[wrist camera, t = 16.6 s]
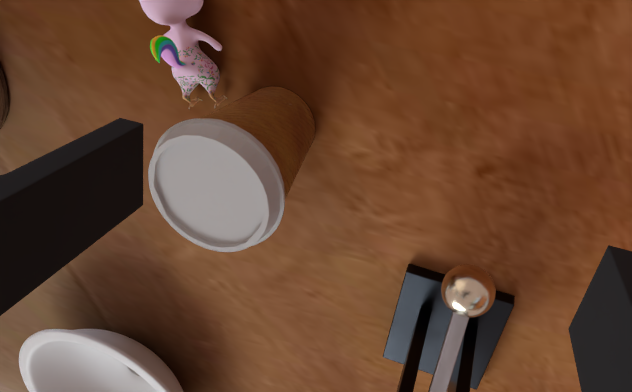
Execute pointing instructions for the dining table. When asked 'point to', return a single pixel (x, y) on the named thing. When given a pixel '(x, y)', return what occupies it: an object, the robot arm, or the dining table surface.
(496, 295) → the bracket
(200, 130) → the disposable coffee cup
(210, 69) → the rabbit figure
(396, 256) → the dining table surface
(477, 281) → the ball-tipped metal rod
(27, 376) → the soup bowl
